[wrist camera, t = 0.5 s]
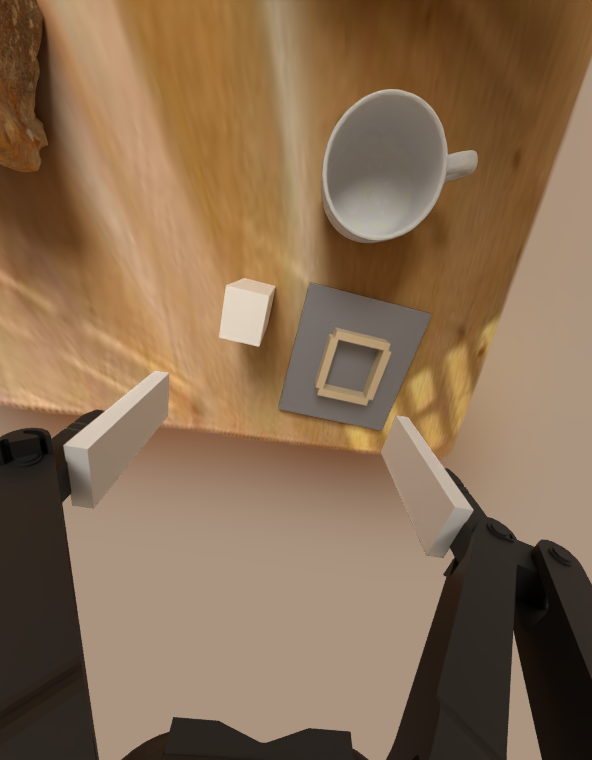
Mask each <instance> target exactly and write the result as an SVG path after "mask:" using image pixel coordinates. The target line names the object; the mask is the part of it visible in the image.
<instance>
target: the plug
mask: <svg viewBox="0 0 592 760" xmlns="http://www.w3.org/2000/svg"><path fill="white" fill-rule="evenodd" d="M275 288H276V286H273V285H269V284H265V283H262V282H258V281H254V280H250V279H246V278H243V279H241V280H238V281H236V282H233V283H231V284H228V285H226V291H225V298H224V305H223V312H222V319H221V327H220V334H219V338H223V339H228V340H232V341H236V342H241V343H245V344H249V345H254V346H258V347H259V346H260V343H261V341H262V338H263V336H264V333H265V331H266V328H267V326H268V322H269V317H270V312H271V307H272V302H273V298H274V293H275Z"/></svg>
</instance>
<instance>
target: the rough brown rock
mask: <svg viewBox="0 0 592 760" xmlns="http://www.w3.org/2000/svg"><path fill="white" fill-rule="evenodd" d="M42 21H43V17H42V14H41V12H40V9H39V6H38V4H37V1H36V0H0V165H2V166H5V167H8V168H11V169H13V170H16V171H21V172H34V171H38V170H39V167H40V165H41V162H42V161H41V159H40V155H39V151H40V150H41V149H42V148H43V147H44V146H47V145H48V142H47V138H46V134H45V132H44V129H43V123H42V122H41V121H40V120H39V119H37V118H36V117H35V113H34V107H35V90H36V86H37V81H38V77H39V74H40V72H39V63H38V60H37V58H36V56H37V54H38V51H39V47H40V43H41V39H42Z"/></svg>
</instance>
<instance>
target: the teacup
mask: <svg viewBox="0 0 592 760" xmlns="http://www.w3.org/2000/svg"><path fill="white" fill-rule="evenodd" d="M477 164H478V155H477V152H475V151H473V150H468V151H461V152H457V153H453V154H449V155H448V149H447V142H446V138H445V133H444V129H443V126H442V124H441V121H440V120H439V118H438V116H437V114H436V113H435V111H434V110H433V109H432V107H431V106H430V105H429V104H428V103H427V102H425V101H424V100H423V99H421V98H420V97H418V96H417V95H415V94H412V93H409V92H406V91H402V90H397V89H388V90H381V91H377V92H374V93H372V94H370V95H368V96H366V97H364V98H362V99H360V100H359V101H358V102H357V103H355V104H354V105H353V106H351V107H350V108H349V109H348V110H347V111H346V113H345V114H344V115H343V116H342V117H341V119H340V120H339V121H338V123H337V125H336V126H335V128H334V129H333V132H332V134H331V136H330V138H329V141H328V144H327V146H326V151H325V155H324V159H323V167H322V180H321V195H322V202H323V207H324V210H325V213H326V215H327V217H328V219H329V221H330V222H331V224H332V225H333V227H334V228H335V229H336V230H337V231H338V232H339V233H340V234H342V235H343V236H345V237H346V238H348V239H350V240H353V241H356V242H361V243H376V242H381V241H386V240H390V239H394V238H397V237H400V236H402V235H404V234H406V233H408V232H409V231H411V230H413V229H414V228H415V227H416V226H417V225H418V224H419V223H420V222H421V221H423V220H424V219H425V218H426V216H427V215H428V214H429V213H430V211H431V210H432V208H433V207H434V205H435V204H436V202H437V200H438V198H439V195H440V193H441V190H442V187H443V184H444V183H445V182H449V181H453V180H457V179H461V178H464V177H466V176H469V175H471V174H472V173H473V172H474V171H475V170H476V168H477Z"/></svg>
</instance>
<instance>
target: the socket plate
mask: <svg viewBox="0 0 592 760" xmlns="http://www.w3.org/2000/svg"><path fill="white" fill-rule="evenodd" d="M431 316H432V314H430V313H427V312H423V311H419V310H416V309H412V308H408V307H404V306H400V305H396V304H393V303H389V302H385V301H381V300H377V299H373V298H370V297H366V296H362V295H358V294H354V293H350V292H347V291H343V290H339V289H335V288H331V287H327V286H324V285H320V284H316V283H312V282H310V283H309V287H308V291H307V295H306V299H305V303H304V307H303V311H302V315H301V319H300V323H299V327H298V331H297V335H296V339H295V343H294V347H293V351H292V355H291V359H290V363H289V367H288V371H287V375H286V379H285V383H284V387H283V391H282V395H281V399H280V403H279V408H278V409H280V410H285V411H290V412H295V413H299V414H304V415H309V416H314V417H318V418H323V419H328V420H332V421H337V422H342V423H347V424H351V425H356V426H361V427H366V428H370V429H375V430H380V431H382V429H383V426H384V424H385V422H386V420H387V417H388V415H389V413H390V410H391V408H392V406H393V403H394V401H395V399H396V396H397V394H398V392H399V390H400V387H401V385H402V383H403V380H404V378H405V376H406V373H407V371H408V369H409V367H410V364H411V362H412V360H413V357H414V355H415V353H416V350H417V348H418V346H419V344H420V341H421V339H422V337H423V334H424V332H425V330H426V327H427V325H428V323H429V320H430V318H431Z"/></svg>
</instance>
